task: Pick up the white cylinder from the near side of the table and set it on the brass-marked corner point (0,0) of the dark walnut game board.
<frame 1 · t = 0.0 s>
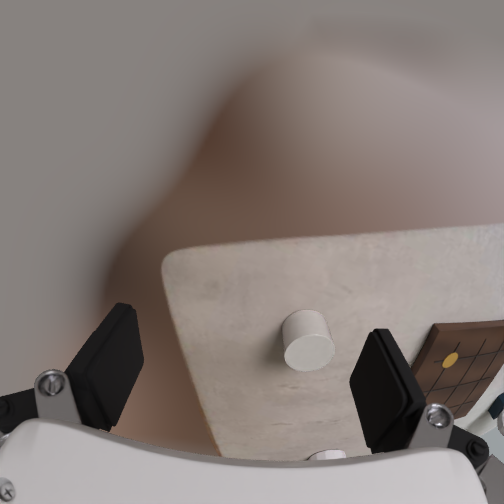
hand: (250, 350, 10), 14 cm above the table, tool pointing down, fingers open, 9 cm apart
white cylinder: (304, 328, 27), on the table
white cup: (326, 456, 38), on the table
board: (453, 379, 31), on the table
watch: (499, 399, 36), on the table
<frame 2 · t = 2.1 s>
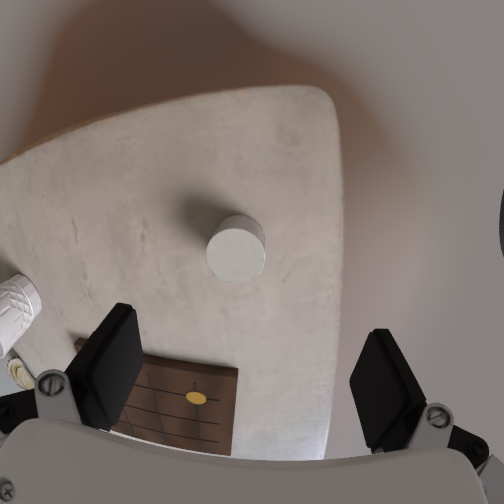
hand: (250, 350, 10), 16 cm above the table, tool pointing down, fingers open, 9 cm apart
oyster shell: (30, 370, 37), on the table
white cylinder: (239, 239, 25), on the table
white cup: (27, 294, 30), on the table
board: (160, 406, 35), on the table
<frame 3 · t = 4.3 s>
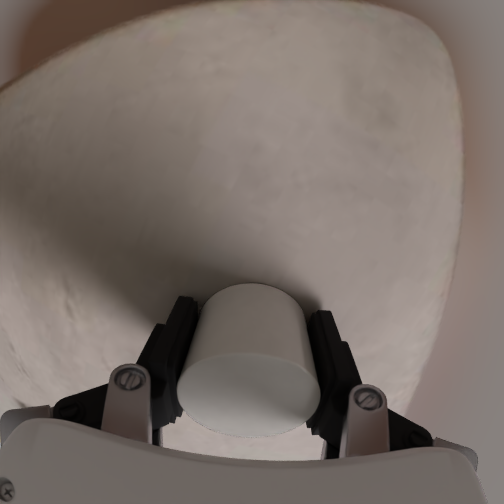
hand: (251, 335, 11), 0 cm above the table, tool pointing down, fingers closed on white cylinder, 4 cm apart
white cylinder: (251, 330, 12), on the table, touching gripper
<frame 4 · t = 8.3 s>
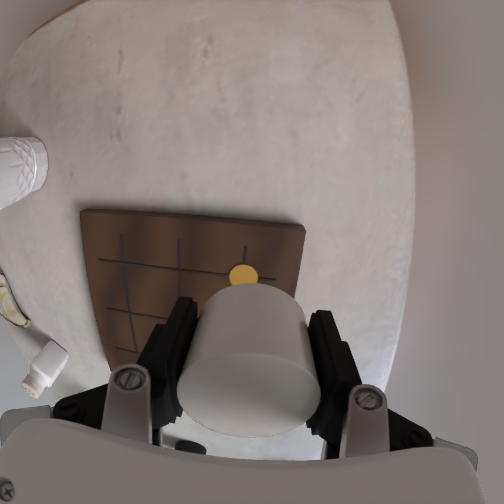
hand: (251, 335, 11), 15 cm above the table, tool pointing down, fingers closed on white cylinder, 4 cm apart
oyster shell: (15, 295, 31), on the table
pepper shaker: (59, 350, 34), on the table
wine bottle: (191, 446, 41), on the table
white cylinder: (252, 330, 12), point 15 cm above the table, touching gripper
white cup: (31, 164, 24), on the table
board: (185, 313, 29), on the table
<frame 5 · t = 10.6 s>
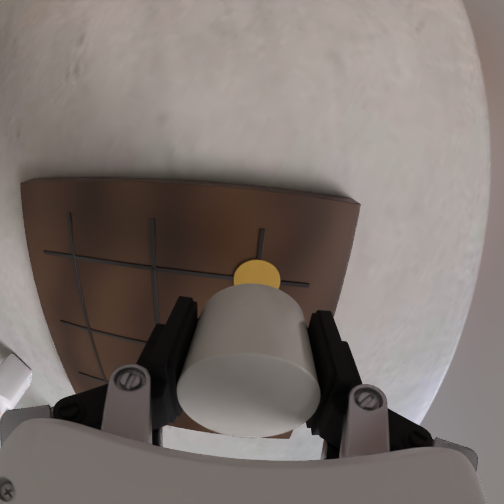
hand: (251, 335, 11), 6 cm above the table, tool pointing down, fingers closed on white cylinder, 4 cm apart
pepper shaker: (22, 366, 24), on the table
white cylinder: (251, 330, 12), point 6 cm above the table, touching gripper
board: (166, 332, 19), on the table
when the fingers open (2 cm above the table, at t = 12.1 s): white cylinder stays where it is, resting on board.
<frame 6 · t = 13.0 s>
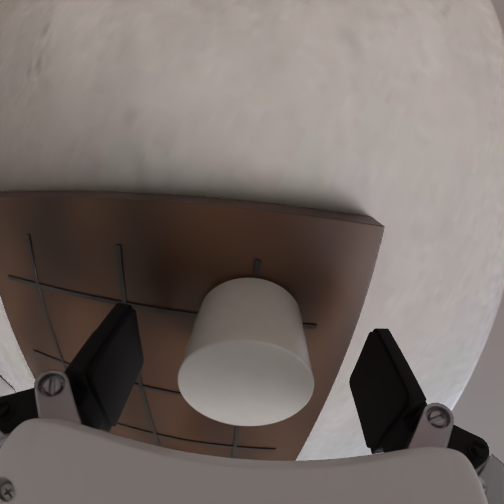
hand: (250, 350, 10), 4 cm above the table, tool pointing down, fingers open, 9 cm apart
pepper shaker: (7, 385, 20), on the table
white cylinder: (249, 323, 12), point 2 cm above the table, touching board
board: (148, 369, 16), on the table
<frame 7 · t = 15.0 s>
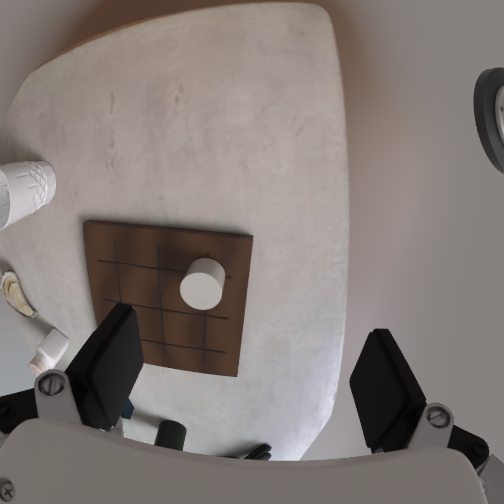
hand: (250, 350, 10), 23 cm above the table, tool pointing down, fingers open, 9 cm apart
oyster shell: (24, 290, 37), on the table
can opener: (244, 455, 53), on the table
pepper shaker: (61, 338, 41), on the table
wine bottle: (173, 426, 48), on the table
white cylinder: (206, 275, 33), point 2 cm above the table, touching board
white cup: (42, 183, 31), on the table
board: (164, 304, 37), on the table
watch: (119, 399, 46), on the table
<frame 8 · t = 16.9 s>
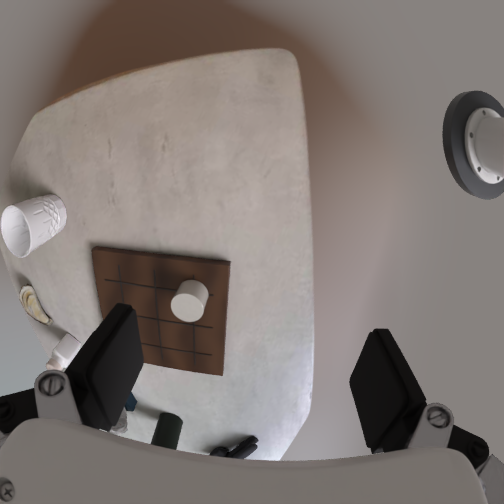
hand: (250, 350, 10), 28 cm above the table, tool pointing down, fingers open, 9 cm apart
oyster shell: (40, 301, 45), on the table
can opener: (235, 446, 60), on the table
pepper shaker: (73, 341, 48), on the table
wine bottle: (171, 418, 56), on the table
white cylinder: (193, 293, 40), point 2 cm above the table, touching board
white cup: (54, 213, 38), on the table
board: (160, 314, 44), on the table
watch: (124, 394, 54), on the table
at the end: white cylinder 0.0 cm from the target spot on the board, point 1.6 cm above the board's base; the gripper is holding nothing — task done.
